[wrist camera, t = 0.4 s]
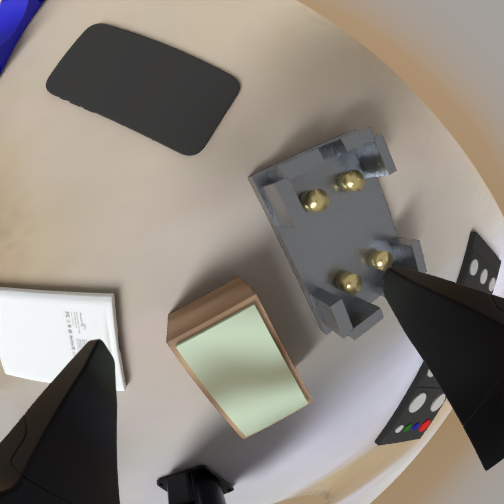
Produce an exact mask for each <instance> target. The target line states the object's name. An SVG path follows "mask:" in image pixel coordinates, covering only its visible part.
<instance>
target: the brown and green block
mask: <svg viewBox="0 0 504 504" xmlns="http://www.w3.org/2000/svg"><path fill="white" fill-rule="evenodd" d="M166 343H167V344H168V346H169V347H170V349H171V350H172V351H173V353H174V354H175V356H176V357H177V358H178V360H179V361H180V363H181V364H182V365H183V367H184V368H185V369H186V371H187V372H188V373H189V375H190V376H191V377H192V379H193V380H194V381H195V383H196V384H197V385H198V387H199V388H200V389H201V390H202V392H203V393H204V394H205V396H206V397H207V398H208V399H209V400H210V402H211V403H212V404H213V405H214V407H215V408H216V409H217V410H218V411H219V413H220V414H221V415H222V416H223V417H224V419H225V420H226V421H227V422H228V423H229V424H230V425H231V427H232V428H233V429H234V430H235V431H236V432H237V433H238V434H239V436H240V437H241V438H242V439H245V438H247V437H249V436H252V435H254V434H256V433H258V432H260V431H262V430H264V429H266V428H267V427H269V426H271V425H273V424H275V423H277V422H279V421H281V420H282V419H284V418H286V417H288V416H290V415H291V414H293V413H295V412H297V411H298V410H300V409H302V408H303V407H305V406H307V405H308V404H310V403H312V402H313V401H312V399H311V397H310V395H309V393H308V391H307V390H306V388H305V386H304V384H303V382H302V380H301V378H300V377H299V375H298V373H297V371H296V369H295V367H294V365H293V363H292V362H291V360H290V358H289V356H288V354H287V352H286V350H285V348H284V346H283V345H282V343H281V341H280V339H279V337H278V335H277V333H276V331H275V329H274V327H273V326H272V324H271V322H270V320H269V318H268V316H267V314H266V312H265V310H264V308H263V306H262V304H261V303H260V301H259V299H258V297H257V295H256V293H255V292H254V291H253V290H252V289H251V288H250V287H249V286H248V285H247V284H246V283H245V282H244V281H243V280H242V279H241V278H240V277H237V278H235V279H233V280H231V281H229V282H228V283H226V284H224V285H222V286H220V287H218V288H217V289H215V290H213V291H211V292H209V293H207V294H206V295H204V296H202V297H200V298H198V299H196V300H195V301H193V302H191V303H189V304H187V305H185V306H183V307H182V308H180V309H178V310H176V311H174V312H172V313H170V314H168V325H167V340H166Z"/></svg>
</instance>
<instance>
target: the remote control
mask: <svg viewBox="0 0 504 504" xmlns="http://www.w3.org/2000/svg"><path fill="white" fill-rule="evenodd" d="M500 264H501V261H500V259H499V258H498V257H497V256H496V254H495V253H494V252H493V251H492V250H491V248H490V247H489V246H488V245H487V244H486V243H485V241H484V240H483V239H482V238H481V237H480V236H479V235H478V233H477V232H473V231H471V233H470V237H469V241H468V245H467V249H466V252H465V256H464V260H463V263H462V266H461V270H460V273H459V276H458V279H457V282H456V283H458V284H461V285H464V286H467V287H471V288H474V289H477V290H480V291H483V292H486V293H488V294H492V293H493V290H494V287H495V283H496V279H497V276H498V272H499V268H500ZM446 398H447V397H446V396H445V394H444V392H443V391H442V389H441V387H440V386H439V384H438V383H437V381H436V379H435V378H434V376H433V374H432V373H431V371H430V370H429V368H428V367H427V365H426V363H425V362H424V361H423V363H422V365H421V367H420V369H419V371H418V373H417V375H416V377H415V379H414V380H413V382H412V384H411V386H410V388H409V389H408V391H407V393H406V394H405V396H404V398H403V400H402V401H401V403H400V404H399V406H398V408H397V409H396V411H395V412H394V414H393V416H392V417H391V419H390V420H389V422H388V423H387V425H386V426H385V428H384V429H383V430H382V432H381V433H380V435H379V436H378V438H377V439H376V440H375V443H376V444H377V445H385V444H392V443H398V442H404V441H409V440H415V439H420V438H421V437H422V435H423V434H424V432H425V431H426V430H427V428H428V427H429V425H430V424H431V422H432V421H433V419H434V418H435V416H436V414H437V413H438V411H439V410H440V408H441V406H442V405H443V403H444V401H445V400H446Z"/></svg>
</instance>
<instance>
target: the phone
mask: <svg viewBox="0 0 504 504" xmlns="http://www.w3.org/2000/svg"><path fill="white" fill-rule="evenodd" d="M46 88H47V90H48V91H49V92H50V93H51V94H53V95H55V96H58V97H60V98H61V99H63V100H67V101H70V103H72V104H75V105H77V106H79V107H80V106H81V107H83V108H84V109H86V110H88V111H91V112H93V113H94V112H95V113H97V114H99V115H102V116H104V117H106V118H108V119H110V120H113V121H115V122H117V123H119V124H121V125H123V126H126V127H128V128H130V129H132V130H134V131H136V132H138V133H140V134H142V135H144V136H146V137H148V138H151V139H153V140H155V141H157V142H159V143H161V144H163V145H165V146H167V147H169V148H171V149H173V150H175V151H177V152H179V153H181V154H183V155H188V156H191V155H195V154H197V153H199V152H200V151H201V150H202V149H203V148H204V147H205V145H206V143H207V142H208V140H209V138H210V137H211V135H212V134H213V132H214V130H215V129H216V127H217V125H218V124H219V122H220V121H221V119H222V118H223V116H224V114H225V113H226V111H227V110H228V108H229V107H230V105H231V103H232V102H233V100H234V99H235V97H236V96H237V94H238V92H239V83H238V81H237V80H236V78H234V77H233V76H232V75H230V74H228V73H226V72H224V71H222V70H220V69H218V68H216V67H214V66H212V65H210V64H208V63H206V62H204V61H202V60H200V59H197V58H195V57H193V56H191V55H188V54H186V53H184V52H182V51H179V50H177V49H174V48H172V47H170V46H167V45H165V44H162V43H160V42H157V41H154V40H152V39H149V38H146V37H143V36H141V35H138V34H135V33H132V32H129V31H126V30H123V29H119V28H116V27H113V26H109V25H106V24H94V25H92V26H90V27H89V28H87V29H86V30H85V31H84V32H83V33H82V35H81V36H80V37H79V38H78V39H77V40H76V42H75V43H74V44H73V45H72V46H71V48H70V49H69V50H68V51H67V53H66V54H65V55H64V57H63V58H62V59H61V61H60V62H59V63H58V65H57V66H56V67H55V69H54V70H53V72H52V73H51V75H50V76H49V78H48V80H47V83H46Z"/></svg>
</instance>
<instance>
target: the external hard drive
mask: <svg viewBox="0 0 504 504" xmlns="http://www.w3.org/2000/svg"><path fill="white" fill-rule="evenodd" d="M95 339H101V340H102V341H103V342H104V343H105V345H106V347H107V348H108V350H109V351H110V353H111V354H112V356H113V358H114V361H115V375H116V390H117V391H125V390H126V381H125V376H124V370H123V364H122V358H121V352H120V351H119V343H118V327H117V318H116V307H115V294H114V293H87V292H67V291H50V290H34V289H21V288H8V287H0V359H1V363H2V365H3V368H4V371H5V373H6V374H8V375H12V376H17V377H21V378H26V379H31V380H36V381H42V382H48V383H51V382H52V381H53V380H54V379H55V378H56V376H57V375H58V374H59V373H60V372H61V371H62V370H63V368H64V367H65V366H66V365H67V364H68V363H69V362H70V361H71V360H72V358H73V357H74V356H75V355H76V354H77V353H78V352H79V351H80V350H81V349H82V348H83V346H84V345H85V344H86V343H87V342H88V341H90V340H95Z"/></svg>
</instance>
